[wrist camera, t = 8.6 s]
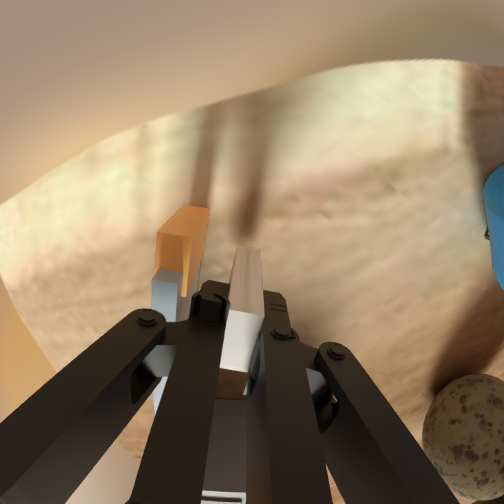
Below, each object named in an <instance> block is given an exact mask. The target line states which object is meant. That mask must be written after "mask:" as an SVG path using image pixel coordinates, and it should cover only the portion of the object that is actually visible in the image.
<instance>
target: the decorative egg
mask: <svg viewBox="0 0 504 504" xmlns="http://www.w3.org/2000/svg"><path fill="white" fill-rule="evenodd" d="M422 443H423V450H424V453H425V454H426V455H427V457H428V458H429V460H430V461H431V462H432V464H433V465H434V467H435V468H436V470H437V471H438V472H439V474H440V475H441V477H442V478H443V480H444V481H445V483H446V484H447V485H448V487H449V488H450V490H451V491H453V492H455V493H456V494H459V495H460V496H463V497H466V498H469V499H474V500H491V499H495V498H498V497H500V496H502V495H503V494H504V382H503V381H502V380H500V379H499V378H497V377H494V376H491V375H487V374H470V375H466V376H463V377H460V378H458V379H457V380H456V379H455V380H453V381H452V382H450V383H449V384H448V385H446V386H445V387H444V388H443V389H442V390H441V391H440V392H439V393H438V395H437V396H436V397H435V399H434V400H433V402H432V403H431V405H430V407H429V409H428V412H427V414H426V417H425V421H424V425H423V432H422Z"/></svg>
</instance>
